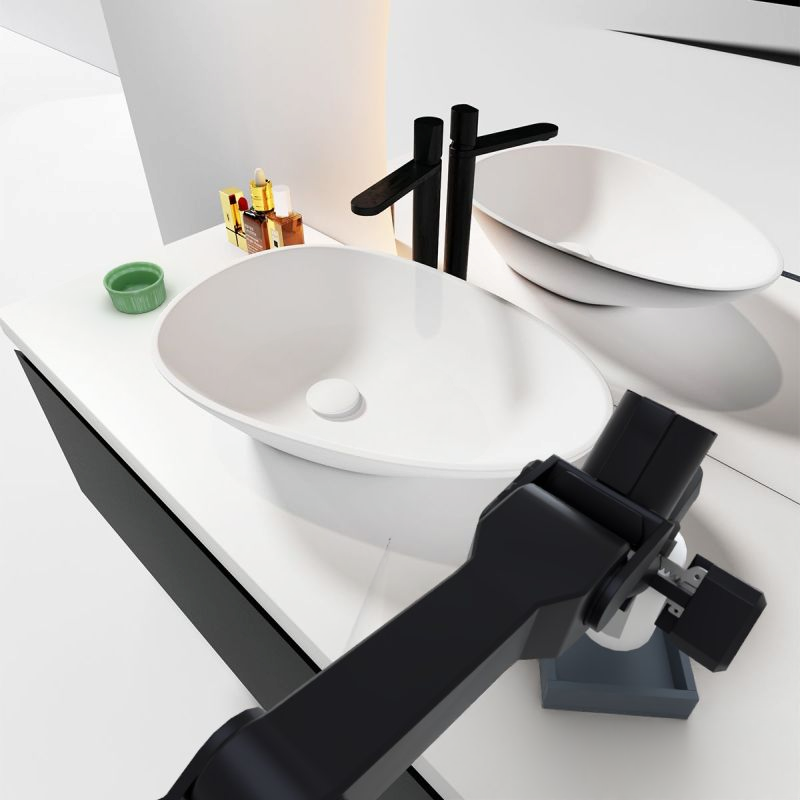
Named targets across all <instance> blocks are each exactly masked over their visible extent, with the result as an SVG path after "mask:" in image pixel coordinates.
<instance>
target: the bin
mask: <svg viewBox="0 0 800 800" xmlns="http://www.w3.org/2000/svg"><path fill="white" fill-rule="evenodd" d="M668 636H669V634H667V633H666V632H664V631H663V630H661V629H660V628H658V627H657V626H656V628H655V630H654V632H653V634H652V636H651V637H650V639H649V640H648V642H647V643H645V644H644V645H642V646H641V647H639V648H637V649H633V650H629V651H617V650H612V649H609V648H606V647H603V646H601V645H600V644H598V643H597V642H595V641H594V640H592V639H591V638H590V637H589V636H588V635H587V634H586V633H584V634H583V635H582V636H581V637H580V638H579V639H578V640H577V641H576V642H575V643H574V644H572V645H571V646H570V647H569V648H568V649H567V650H566V651H565V652H564V653H563V654H562V655H561V656H559V657H558V658H550V659H538V666H539V667H538V669H539V680H540V694H541V695H540V696H541V697H540V698H541V708H542V709H546V710H556V711H557V710H558V711H571V712H583V713H584V712H587V713H597V714H610V715H611V714H612V715H624V716H639V717H650V718H662V719H664V718H665V719H677V720H688V719H689V718H690V716H691V715H692V713H693V711H694V709H695V708H696V706H697V705H698V703H699V702H700V696H699V693H698V688H697V685H696V679H695V677H694V676H695V675H694V671H693V667H692V664H691V660H690V659H691V658H690V657H689V656H688V655H686V654H685V653H683V652H682V651H680V650H679V649H677V648H676V647H674V646H673V645H671V644H670V643H669V642H667V641H666V640H667V638H668Z"/></svg>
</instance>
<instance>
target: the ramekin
mask: <svg viewBox="0 0 800 800" xmlns="http://www.w3.org/2000/svg"><path fill="white" fill-rule="evenodd" d="M164 278H165V273H164V270H163V268H162V267H161V266H160V265H159V264H157V263H154V262H152V261H151V262H150V261H132V262H127V263H123V264H120V265H118V266H116V267H114V268H112V269H111V270H110V271H108V272H107V273H106V274H105V276H104V277H103V281H102V283H103V286H104V288H105V290H106V291H107V293H108V295H109V297H110V300H111V302H112V305H113V306H114V308H115V309H116V310H117V311H119V312H121V313H125V314H142V313H146V312H150V311H153V310H155V309H157V308H158V307H159V306H160V305H161V304H163V303H164V301H165V299H166V297H167V293H166V286H165V285H166V284H165V281H164V280H165V279H164Z"/></svg>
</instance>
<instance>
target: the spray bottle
mask: <svg viewBox="0 0 800 800" xmlns="http://www.w3.org/2000/svg"><path fill="white" fill-rule="evenodd" d="M674 540H675V541H677V544H676V546H675V547H674V549H673V551H672V552H671V554H670V556H669V557H668V558H669V559H670V560H672V561H673V562H675V563H677V564H678V565H680V566H682V567H683V568H685V565H686V563H687V554H688V553H687V552H688V549H687V546H686V542H685V538H684V537H683V536H682V534H681V532H680V531H679V532H678V534H677V536H676V537H675V539H674ZM664 570H665V568H663V569H662V570H659V571H658V573H660V574H662V575H663V576H665V577H666V578H668V579H669V580H671V581H673V582H674V583H675V582H676V580H675V575H673V576H672V577H670V576H669V574H670V572H668V573H666V574H665V573H664ZM666 598H667V597H665V596H664V595H662V594H661V593H659V592H658V591H656V590H655V589H653V588H652V587H649V588H648V589H646V590H645V591H644V592H642V593H640V594H638V595H636V597H635V599H634V600H633V602H632V604H631V605H630V607H629V609H628V610H627V611H626V612H623V611H621V610H620V609H618V610H617V612H616V613H615V615H614V616H613V617H612V618H611V620H610V621H609V622H608V624H607V625H606V626H605V627H604V628H603V629H602V630H601V631H600V632H599V633H597V632H595V631H594V630H592V629H591V628H589V629H588V630H587V631H586V632H585V633H586V634H587V635H588V636H589V637H590V638H591V639H592V640H594V641H595V642H597V643H598V644H600V645H601V646H603V647H606V648H609V649H612V650H617V651H629V650H633V649H637V648H639V647H641V646H642V645H644V644H645V643H647V642H648V640H649V639H650V637H651V636H652V634H653V632H654V630H655V628H656V626H655V625H654V623H655V621H656V618H657V616H658V614H659V612H660V610H661V608H662V606H663V604H664V602H665V600H666Z"/></svg>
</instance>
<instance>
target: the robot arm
mask: <svg viewBox="0 0 800 800" xmlns="http://www.w3.org/2000/svg"><path fill="white" fill-rule="evenodd" d="M718 437H719V434H718V433H717V432H716V431H713V429H710V428H708V427H706V426H703V425H702V424H700V423H697V422H695V421H694V420H692V419H689V418H688V417H686V416H683V415H682V414H680V413H678V412H677V411H675V410H673V408H669V407H668V406H666V405H664V404H662V403H660V402H658V401H656V400H653V399H651V398H650V397H648V396H646V395H641V394H639V393H637V392H635V391H634V390H631V389H629V388H627V389H626V390H625V392H624V393H623V395H622V397H621V399H620V401H619V402H618V404H617V405H616V407H615V409H614V410H613V412H612V414H611V416H610V417H609V419H608V421H607V423H606V424H605V426H604V428H603V430H602V431H601V433H600V434H599V436H598V438H597V440H596V441H595V443H594V445H593V446H592V449H591V450H590V452H589V454H588V455H587V457H586V458H585V460H584V462H583V464H582V465H581V467H578V466H576V465H575V464H573V463H571V462H570V461H568V460H565V459H564V458H563V457H561V456H559V455H557V454H556V453H553V454H551V455H550V456H549V457H548V458H546V459H545V460H541V459H539V458H537V459H534V460H531V461H528V463H527V464H526V465H524V466H523V468H522V470H521V471H520V473H519V474H518V475H517V476H516V477H515V478H514V479H513V480H512V481H511V482H510V483H509V484H508V485H507V486H506V487H505V488H504V489H503V490H502V491H501V492H500V493H499V494H498V495H497V496H496V497H494V498H493V499H492V500H491V502H489V504H487V505H486V507H485V508H483V509H482V511H481V512H480V514H479V516H478V521H477V523H476V527H475V530H474V534H473V537H472V540H471V544H470V547H469V550H468V553H467V556H466V560H465V562H464V563H462V564H461V566H459V567H458V568H457V569H456V570H454V571H453V572H452V573H451V574H450V575H448V576H447V577H446V578H444V579H443V580H442V581H440V582H439V583H437V584H436V585H435V586H433V587H432V588H431V589H430V590H428V591H427V592H425V593H424V594H422V596H420V597H418V598H417V599H416V600H414V601H413V602H412V603H411V604H409V605H407V607H405V608H404V609H403V610H401V611H400V612H399V613H397V614H396V615H394V616H393V617H392V618H390V619H389V620H388V621H387V622H385V623H384V624H382V625H381V626H380V627H378V628H377V629H375V630H374V631H373V632H372V633H370V634H369V635H367V636H366V637H365V638H363V639H362V640H361V641H360V642H358V643H357V644H356V645H354V646H353V647H351V648H350V649H349V650H347V651H346V652H345V653H343V654H342V655H340V656H339V657H338V658H337V659H335V660H334V661H332V662H331V663H329V665H327V666H326V667H324V668H323V669H321V671H319V672H318V673H317V674H315V675H314V676H313V677H311V678H310V679H309V680H307V681H306V682H305V683H303V684H301V685H300V686H299V687H298V688H296V689H295V690H294V691H292V692H291V693H290V694H288V695H287V696H286V697H284V698H283V699H281V700H280V701H279V702H277V703H276V704H275V705H273V706H272V707H271V708H270V709H268V710H265V709H264V708H261V707H260V706H255V707H251V708H247V709H244V710H242V711H241V712H239V713H237V714H235V715H233V716H232V717H230V718H229V719H228V720H226V721H225V722H224V723H223V724H222V725H221V726H220V727H218V728H217V729H216V730H215V731H214V732H213V733H212V734H211V735H210V736H209V737H208V739H206V741H205V742H204V743H203V744H202V745H201V746H200V747H199V749H198V750H197V751H196V753H195V754H194V755H193V757H192V758H191V759H190V761H189V763H188V764H187V765H186V767H185V768H184V769H183V771H182V772H181V774H180V775H179V776H178V777H177V779H176V780H175V781H174V783H173V784H172V786H171V787H170V788H169V790H168V791H167V793H166V794H165V795H163V796H162V797H160V798H158V799H157V800H377V799H378V798H379V797H381V795H382V794H384V792H385V791H387V789H389V787H390V786H391V785H392V784H393V783H394V782H396V780H397V779H399V777H400V776H401V775H403V774H404V772H405V771H407V769H409V767H410V766H411V765H413V763H415V761H416V760H418V759H419V758H420V757H421V756H422V755H423V754H424V753H425V751H426V750H428V749H429V748H430V747H431V746H432V745H433V744H434V742H436V741H437V740H438V738H440V737H441V736H442V735H443V734H444V733H445V732H446V731H448V729H449V727H451V726H452V725H453V724H454V723H455V722H456V721H457V720H458V719H459V718H460V717H461V716H462V715H463V714H464V713H466V711H467V710H468V709H469V708H470V707H471V706H472V705H473V704H474V703H475V702H476V701H477V700H478V699H479V698H480V697H481V696H482V695H483V694H484V693H485V692H486V691H487V690H488V689H489V688H490V687H491V686H492V685H493V684H494V683H495V682H496V681H497V680H498V679H499V678H500V677H501V676H502V675H503V674H504V673H505V672H506V671H508V669H510V668H511V667H512V666H514V665H515V664H516V663H517V662H518V661H529V660H530V661H531V660H539V659H550V658H558V657H559V656H561V655H562V654H563V653H564V652H565V651H566V650H567V649H568V648H569V647H570V646H571V645H572V644H574V643H575V642H576V641H577V640H578V639H579V638H580V637H581V636H582V635H583V634H584V633H585V632H586V631H587V630H588V629H589V628H591V629H592V630H594V631H595V632H597V633H599V632H600V631H601V630H602V629H603V628H604V627H605V626H606V625H607V624H608V622H609V621H610V620H611V618H612V617H613V616H614V615H615V613H616V612H617V610H618V609H620V610H621V611H623V612H626V611H627V610H628V609H629V607H630V605H631V604H632V602H633V600H634V599H635V597H636V595H638V594H640V593H642V592H644V591H645V590H646V589H648V588H649V587H652V588H653V589H655V590H656V591H658V592H659V593H661V594H662V595H664V596H665V597H667V598H666V600H665V602H664V604H663V606H662V608H661V610H660V612H659V614H658V616H657V618H656V621H655V623H654V625H655V626H657V627H658V628H660V629H661V630H663V631H664V632H666V633H667V634H669V636H668V638H667V640H666V641H667V642H669V643H670V644H671V645H673V646H674V647H676V648H677V649H679V650H680V651H682V652H683V653H685V654H686V655H688V656H689V658H690V659H692V660H693V661H695V662H696V663H697V664H699V665H701V666H702V667H704V668H705V669H706V670H708V671H710V672H711V673H715V674H716V673H721V672H726V671H727V670H728V668H729V667H730V665H731V664H732V662H733V660H734V659H735V657H736V656H737V654H738V653H739V651H740V649H741V648H742V646H743V644H744V643H745V641H746V639H748V636H749V635H750V633H751V631H752V630H753V628H754V627H755V625H756V623H757V622H758V620H759V618H761V616H762V614H763V612H764V610H765V609H766V607H767V605H768V602H767V599H766V595H765V593H764V591H763V590H761V589H759V588H758V587H756V586H754V585H752V584H751V583H749V582H747V581H746V580H744V579H743V578H741V577H739V576H737V575H736V574H734V573H733V572H731V571H729V570H727V569H725V568H723V567H722V566H720V565H718V564H717V563H714V562H712V561H710V560H709V559H707V558H706V557H704V556H702V555H701V554H699V553H696V554H695V555H694V557H693V558H692V560H691V561H690V562H689V564H688V566H687V567H686V568H685V567H682V566H680V565H678V564H677V563H675V562H673V561H672V560H670V559H669V558H668V557H669V556H670V554H671V552H672V551H673V549H674V547H675V546H676V544H677V541H675V540H674V539H675V537H676V536H677V534H678V532H679V533H680V531H681V528H682V527H681V522H682V521H683V519H684V518H685V516H686V514H687V513H688V511H689V510H690V509H691V507H692V505H693V504H694V503H695V502H696V500H697V499H698V497H699V496H700V491H701V487H702V483H703V478H704V470H703V467H702V466H701V464H702V462H703V461H704V460H705V458H706V456H707V454H708V453H709V450H710V449H711V448H712V446H713V444H714V443H715V441H716V440H717V438H718ZM663 568H665V570H664V573H665V574H666V573H668V572H670V574H669V576H670V577H672V576H673V575H675V580H676V582H675V583H674V582H673V581H671V580H669V579H668V578H666V577H665V576H663V575H662V574H660V573H658V571H659V570H662V569H663Z"/></svg>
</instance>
